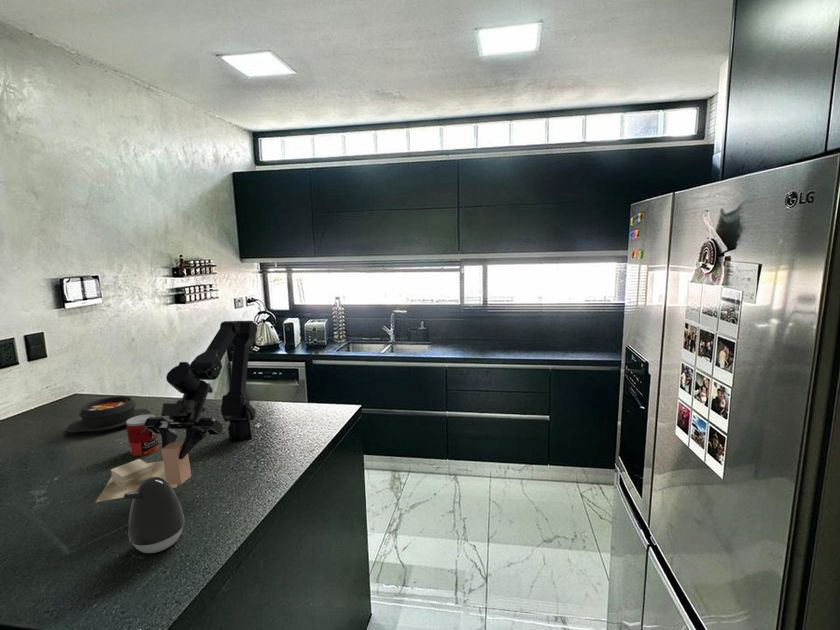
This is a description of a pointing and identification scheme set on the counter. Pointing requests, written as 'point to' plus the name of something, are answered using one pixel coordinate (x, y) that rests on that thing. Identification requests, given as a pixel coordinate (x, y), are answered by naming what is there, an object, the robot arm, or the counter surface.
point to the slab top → (131, 470)
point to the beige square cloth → (117, 492)
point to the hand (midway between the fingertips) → (172, 458)
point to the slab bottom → (132, 481)
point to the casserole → (106, 414)
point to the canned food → (141, 436)
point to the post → (175, 464)
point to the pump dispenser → (154, 516)
